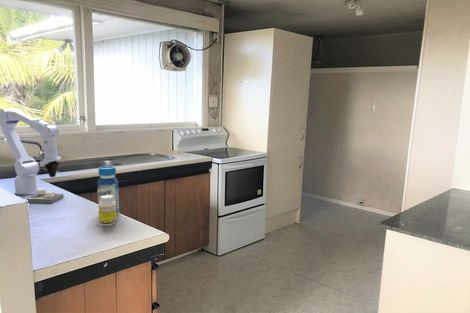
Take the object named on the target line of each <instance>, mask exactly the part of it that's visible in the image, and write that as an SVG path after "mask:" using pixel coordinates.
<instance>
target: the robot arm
mask: <svg viewBox="0 0 470 313" xmlns="http://www.w3.org/2000/svg"><path fill="white" fill-rule="evenodd" d="M20 122H22V123H24V124H27V125H28V126H29V128H30V129H32V131H34V132H36V133H39V135H40V137H41V138H42V139H41V140H42V142H43V151H44V153H43V154H44V159H41V160H40V161H39V162H40V163H38V162H37V161H36V159H35V158H34V157H32V156H30V155H28V153H27V150H26V149H25V147H24V145H23V143H22V140H21V139H20V137H19V134H18V133H17V131H16V129H15V128H16V127H17V126H18V124H19V123H20ZM0 129H1V130H0V131H1V132H2V134H3V136H4V137H5V140H6V142H7V144H8V146H9V148H10V150H11V151H12V154H13V156H14V158H15V161H14V163H13V167H14V170H15V174H16V176H15V178H14V189H15V192H14V195H35V194H37V193H36V190H38V182H37V180H38V179H37V175H38V172H39V171H40V166H44V167H45V169H46V170H47V173H48V176H49V178H54V177H56V174H57V169H58V167H59V165H60V162H59V161H62V156H59V155H58V146H57V145H58V144H57V143H58V142H57V136H58V135H59V130H60V129H59V128H58V126H56V125H55V124H51V125H50V124H49V123H48V122H44V121H43V120H42V119H41V118H39V117H38V118H32V117H31V116H29V115H28V114H26V113H24V112H23V110H22V109H18V108H0ZM39 164H40V165H39Z"/></svg>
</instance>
